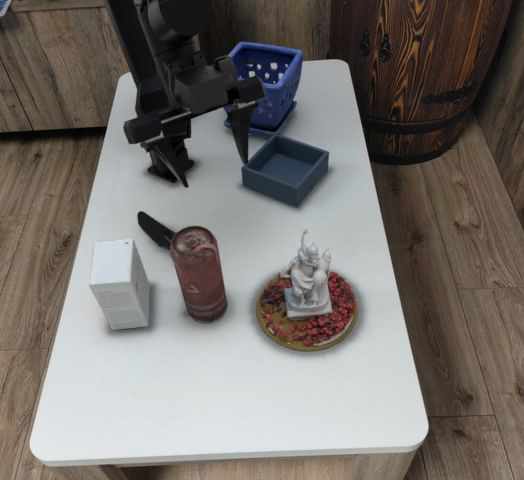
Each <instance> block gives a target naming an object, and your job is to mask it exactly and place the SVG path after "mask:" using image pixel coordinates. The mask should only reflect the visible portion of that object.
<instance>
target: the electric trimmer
mask: <svg viewBox="0 0 524 480" xmlns="http://www.w3.org/2000/svg"><path fill="white" fill-rule="evenodd" d="M136 218H137V219H136V220H137V224H138V226H139V227H140V229H142V230H143V232H144V233H145V234H146V235H147V236H148V238H150V239H151V240H152V241H153V243H155V244H156V245H157V246H158V247H159V248H166V249H168V250H169V251H170V245H171V243H172V239H173V236H174V235H175V234H176V233H177V232H175V231H173V230H172V229H170V228H169V227H167V226H166V225H164V224H163V223H161V222H160V221H158V220H157V219H155V218H154V217H153V216H151V215H149V214H148V213H147V212H145V211H143V210H140V211H138V212H137V214H136Z"/></svg>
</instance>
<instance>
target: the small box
mask: <svg viewBox="0 0 524 480" xmlns="http://www.w3.org/2000/svg"><path fill="white" fill-rule="evenodd" d="M90 266H91V267H90V275H89V282H88V287H89V288H90V290H91V292H92V294H93V296H94V298H95V299H96V302H97V303H98V306H99V307H100V309H101V311H102V313H103V315H104V317H105V319H106V320H107V322H108V325H109V326H110V328H111V330H113V331H114V330H125V329H135V328H146V327H149V325H150V322H149V321H150V299H151V298H150V295H151V284H150V281H149V278H148V275H147V273H146V270H145V266H144V264H143V262H142V259H141V255H140V253H139V250H138V247H137V245H136V242H135V239H134V238H126V239H115V240H103V241H95V242H93V249H92V257H91V265H90Z"/></svg>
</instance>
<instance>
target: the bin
mask: <svg viewBox="0 0 524 480" xmlns="http://www.w3.org/2000/svg"><path fill="white" fill-rule="evenodd" d="M329 160H330V150H329V151H328V150H325V149H323V148H319V147H316V146H314V145H311V144H308V143H305V142H302V141H300V140H296V139H295V138H290V137H288V136H285V135H282V134H280V133H279V134H276V133H275V134H274V135H273V136H272V137H271V138H268V140H266V142H265V143H263V145H261V147H260V148H259V149H258V150H257V151H255V153H253V155H252V156H251V157H250V158H248V164H243V165H242V166H241V167H240V169H241V177H242V178H241V181H242V187H244V188H246V189H249V190H252V191H254V192H257V193H259V194H262V195H264V196H266V197H269V198H271V199H274V200H276V201H279V202H282V203H284V204H287V205H289V206H291V207H294V208H298V207H299V206H300V204H301V203H302V202H303V201H304V200H305V199H306V198H307V196H308V195H309V194H310V192H311V191H312V190H313V189H314V188H315V187H316V185H317V184H318V183H319V182H320V181H321V179H322V178H323V177H324V176H325V175H326V173H328V170H329V162H330V161H329Z"/></svg>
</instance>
